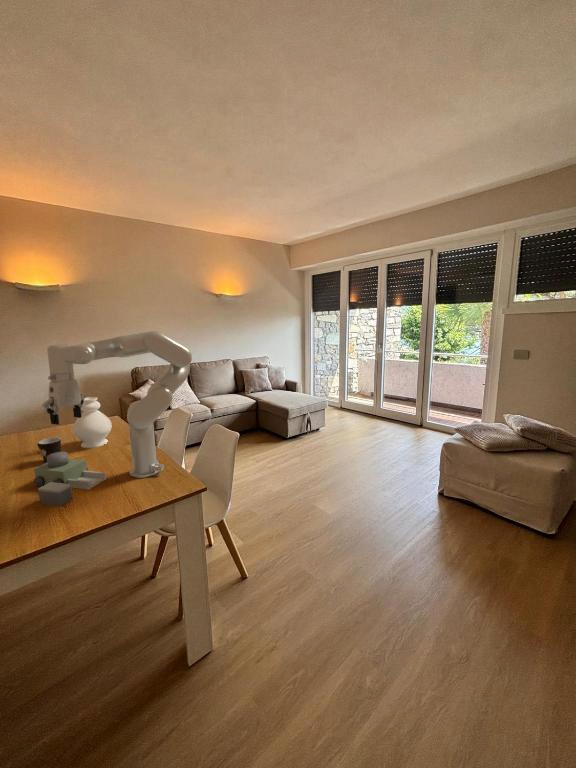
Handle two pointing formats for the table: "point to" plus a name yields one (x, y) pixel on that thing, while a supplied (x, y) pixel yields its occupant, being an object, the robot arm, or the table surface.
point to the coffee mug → (49, 446)
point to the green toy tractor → (67, 472)
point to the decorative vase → (92, 424)
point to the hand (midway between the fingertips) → (66, 420)
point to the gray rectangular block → (55, 494)
